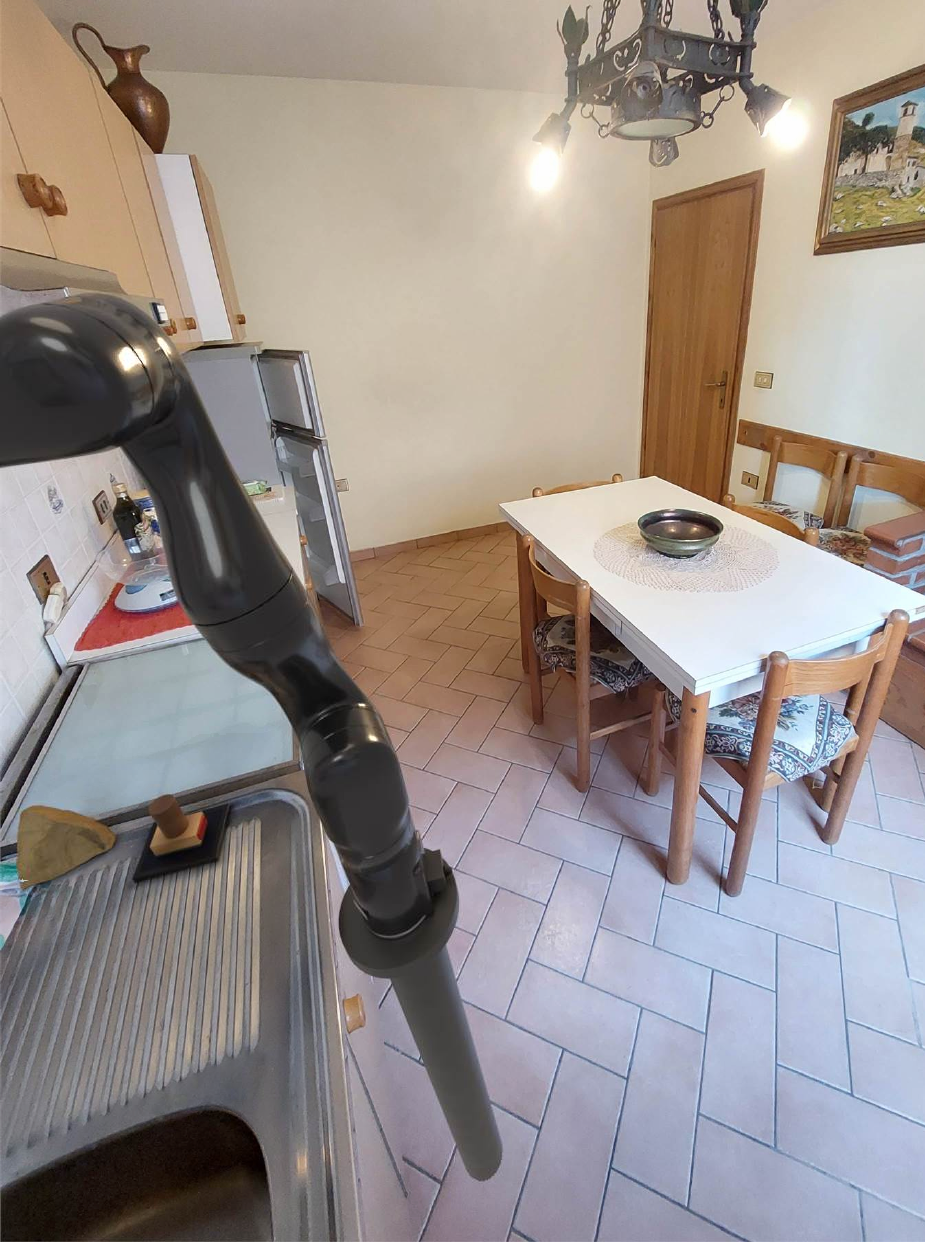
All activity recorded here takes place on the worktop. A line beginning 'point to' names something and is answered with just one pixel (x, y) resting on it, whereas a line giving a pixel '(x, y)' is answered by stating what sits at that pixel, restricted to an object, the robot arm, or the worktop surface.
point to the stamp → (175, 827)
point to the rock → (56, 842)
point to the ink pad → (189, 858)
